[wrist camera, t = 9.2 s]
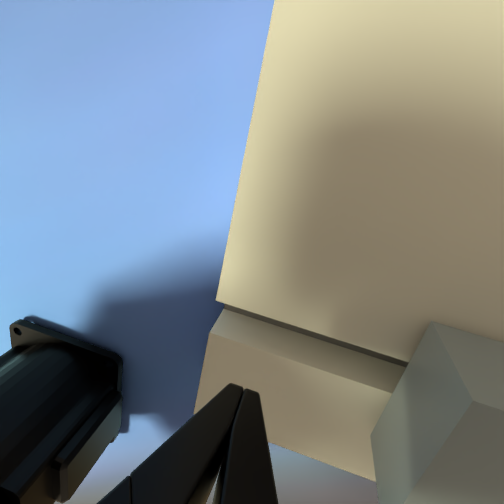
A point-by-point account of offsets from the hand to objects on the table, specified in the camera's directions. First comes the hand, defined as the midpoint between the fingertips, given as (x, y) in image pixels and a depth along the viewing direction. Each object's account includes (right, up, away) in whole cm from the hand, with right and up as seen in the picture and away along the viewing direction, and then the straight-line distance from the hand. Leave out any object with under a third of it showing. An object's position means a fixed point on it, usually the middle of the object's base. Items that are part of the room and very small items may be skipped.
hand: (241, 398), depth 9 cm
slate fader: (+7, 0, +3) cm, 8 cm away
